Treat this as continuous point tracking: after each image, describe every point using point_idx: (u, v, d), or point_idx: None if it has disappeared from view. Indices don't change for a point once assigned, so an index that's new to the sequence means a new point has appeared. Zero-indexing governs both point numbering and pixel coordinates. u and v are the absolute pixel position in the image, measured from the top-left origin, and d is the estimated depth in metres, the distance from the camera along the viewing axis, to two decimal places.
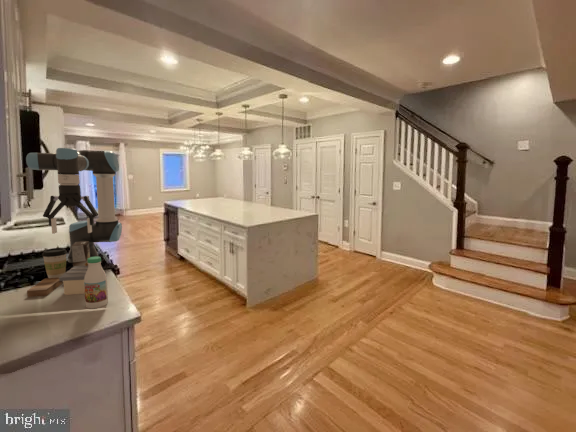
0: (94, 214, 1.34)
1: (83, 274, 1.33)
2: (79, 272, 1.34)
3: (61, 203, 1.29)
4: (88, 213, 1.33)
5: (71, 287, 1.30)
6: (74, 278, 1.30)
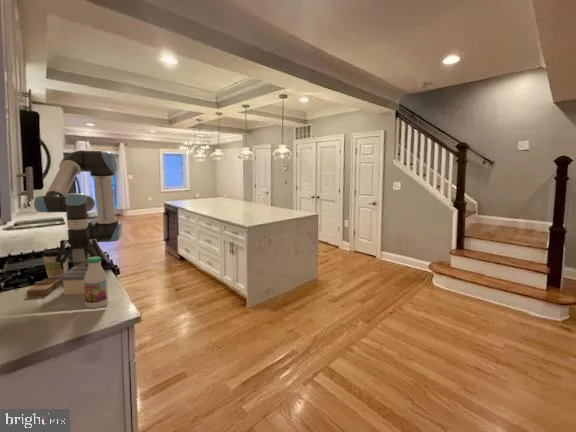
0: None
1: (83, 274, 1.33)
2: (79, 272, 1.34)
3: (71, 247, 1.33)
4: None
5: (71, 287, 1.30)
6: (74, 278, 1.30)
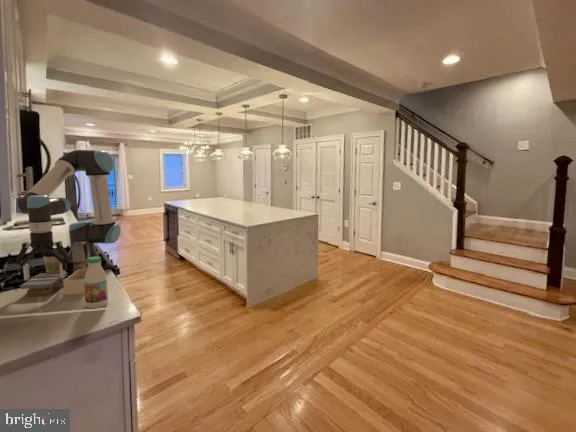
0: (67, 260, 1.34)
1: (46, 282, 1.29)
2: (42, 279, 1.31)
3: (33, 250, 1.29)
4: (61, 259, 1.33)
5: (71, 287, 1.30)
6: (36, 286, 1.26)
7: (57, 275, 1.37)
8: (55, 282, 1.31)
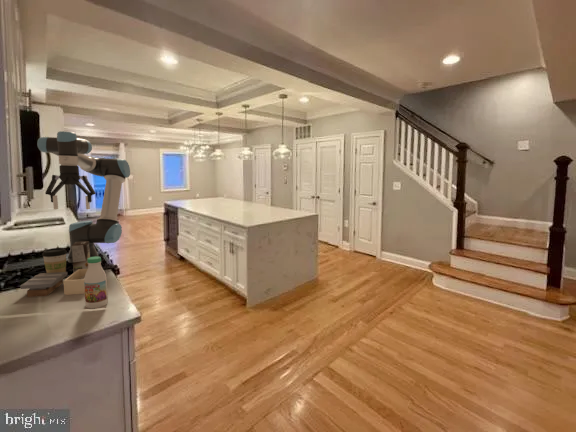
0: (92, 192, 1.47)
1: (46, 282, 1.29)
2: (42, 279, 1.31)
3: (62, 182, 1.43)
4: (86, 191, 1.47)
5: (71, 287, 1.30)
6: (36, 286, 1.26)
7: (57, 275, 1.37)
8: (55, 282, 1.31)
